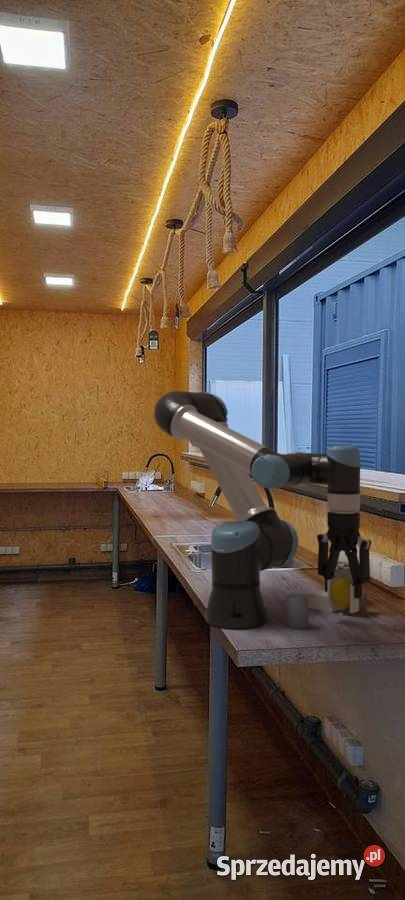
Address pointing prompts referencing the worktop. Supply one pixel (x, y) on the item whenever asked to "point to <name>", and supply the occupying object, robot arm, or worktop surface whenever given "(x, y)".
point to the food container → (342, 570)
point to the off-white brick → (320, 601)
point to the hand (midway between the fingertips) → (342, 608)
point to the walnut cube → (362, 608)
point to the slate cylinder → (297, 611)
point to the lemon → (341, 592)
